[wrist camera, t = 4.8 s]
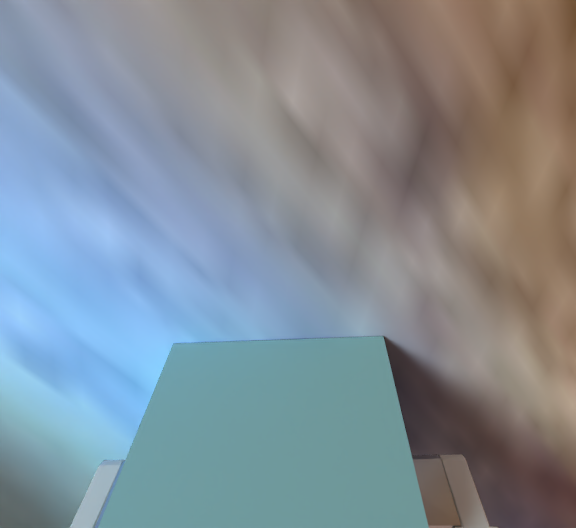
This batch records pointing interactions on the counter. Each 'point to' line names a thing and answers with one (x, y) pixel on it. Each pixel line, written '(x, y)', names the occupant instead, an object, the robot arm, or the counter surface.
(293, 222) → the counter surface
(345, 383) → the teal cube
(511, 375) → the counter surface
